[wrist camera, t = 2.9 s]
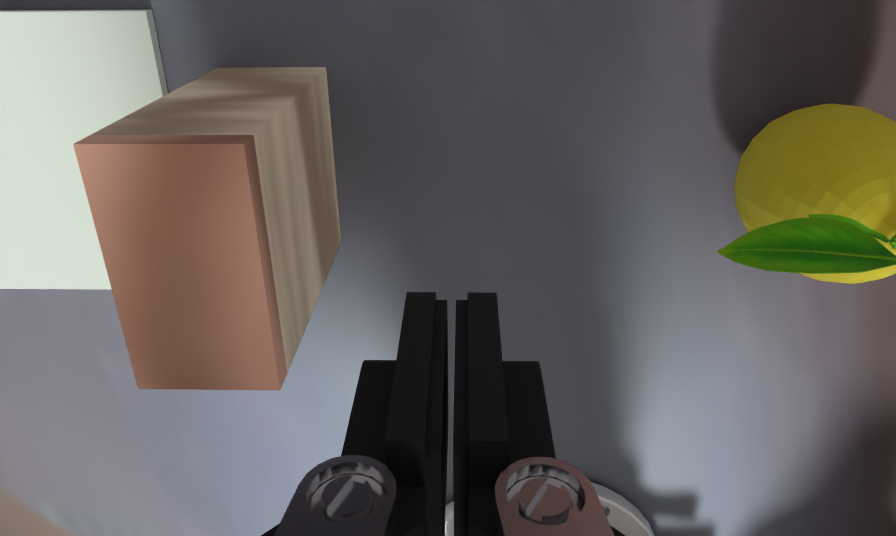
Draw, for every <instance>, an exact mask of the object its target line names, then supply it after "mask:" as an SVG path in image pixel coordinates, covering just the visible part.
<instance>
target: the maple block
mask: <svg viewBox="0 0 896 536" xmlns="http://www.w3.org/2000/svg"><path fill="white" fill-rule="evenodd" d="M73 146H74V150H75V154H76V157H77V161H78V165H79V169H80V172H81V176H82V180H83V184H84V187H85V191H86V195H87V199H88V202H89V206H90V210H91V214H92V217H93V221H94V225H95V229H96V232H97V236H98V240H99V244H100V247H101V251H102V255H103V259H104V262H105V266H106V270H107V274H108V277H109V281H110V285H111V289H112V292H113V296H114V300H115V304H116V307H117V311H118V315H119V319H120V322H121V326H122V330H123V334H124V337H125V341H126V345H127V349H128V352H129V356H130V360H131V364H132V367H133V371H134V375H135V379H136V382H137V386H138V389H203V390H281V387H282V385H283V382H284V380H285V378H286V375H287V373H288V370H289V368H290V365H291V363H292V360H293V358H294V356H295V353H296V351H297V348H298V346H299V343H300V341H301V339H302V336H303V334H304V331H305V329H306V326H307V324H308V322H309V319H310V317H311V314H312V312H313V309H314V307H315V305H316V302H317V300H318V297H319V295H320V292H321V290H322V287H323V285H324V283H325V280H326V278H327V275H328V273H329V270H330V268H331V266H332V263H333V261H334V258H335V256H336V253H337V251H338V249H339V246H340V244H341V233H340V221H339V210H338V198H337V187H336V175H335V164H334V152H333V141H332V129H331V118H330V106H329V95H328V83H327V72H326V67H218V68H216V69H214V70H212V71H210V72H208V73H206V74H204V75H202V76H201V77H199V78H197V79H195V80H193V81H191V82H189V83H187V84H185V85H184V86H182V87H180V88H178V89H176V90H174V91H172V92H170V93H168V94H167V95H165V96H163V97H161V98H159V99H157V100H155V101H153V102H151V103H150V104H148V105H146V106H144V107H142V108H140V109H138V110H136V111H134V112H133V113H131V114H129V115H127V116H125V117H123V118H121V119H119V120H117V121H116V122H114V123H112V124H110V125H108V126H106V127H104V128H102V129H100V130H99V131H97V132H95V133H93V134H91V135H89V136H87V137H85V138H83V139H82V140H80V141H78V142H76V143H74V144H73Z"/></svg>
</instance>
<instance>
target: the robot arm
mask: <svg viewBox="0 0 896 536" xmlns="http://www.w3.org/2000/svg"><path fill="white" fill-rule="evenodd" d="M447 451H448V329H447V300H436V292H407V295H406V301H405V308H404V314H403V321H402V327H401V334H400V340H399V347H398V353H397V360H364V362H363V364H362V367H361V371H360V376H359V380H358V384H357V389H356V393H355V398H354V402H353V406H352V411H351V415H350V420H349V424H348V428H347V433H346V437H345V441H344V446H343V450H342V455H341V456H340V457H335V458H331V459H329V460H327V461H325V462H323V463H320V464H318V465H317V466H316V467H314V468H313V469H312V470H311V471H309V472H308V473H307V474H306V475H305V477H304V478H303V479H302V481H301V482H300V484H299V485H298V487H297V489H296V491H295V493H294V495H293V497H292V500H291V502H290V504H289V506H288V508H287V510H286V512H285V514H284V516H283V518H282V520H281V522H280V524H278V525H277V526H275V527H274V528H272V529H271V530H269V531H267V532H266V533H264V534H263V535H261V536H654V533H653V531H652V529H651V527H650V525H649V522H648V521H647V520H646V519H645V517H644V516H643V515H642V514H641V512H640V511H639V510H638V509H637V508H636V507H635V506H634V505H632V504H631V503H630V502H629V501H627V500H626V499H625V498H624V497H622V496H621V495H619V494H617V493H615V492H614V491H612V490H610V489H608V488H606V487H604V486H602V485H599V484H596V483H593V482H590V481H589V479H588V477H587V476H586V475H585V474H583V473H582V472H581V471H580V470H579V469H577V468H576V467H574V466H572V465H570V464H568V463H566V462H564V461H562V460H558V459H556V457H555V452H554V446H553V440H552V434H551V428H550V422H549V416H548V410H547V404H546V398H545V392H544V386H543V380H542V374H541V368H540V364H539V362H538V361H502V352H501V340H500V329H499V317H498V305H497V294H496V293H468V300H456V336H455V384H454V434H453V481H454V500H453V501H452V502H451V503H449V504H448V505H446V482H447Z"/></svg>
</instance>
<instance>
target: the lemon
mask: <svg viewBox="0 0 896 536" xmlns="http://www.w3.org/2000/svg"><path fill="white" fill-rule="evenodd" d="M734 187H735V203H736V207H737V210H738V213H739V215H740V217H741V219H742V221H743V223H744V225H745V228H746V230H747V231H748V233H747V234H745V235H743V236H741V237H740V238H738V239H736V240H735V241H733V242H732V243H730V244H729V245H727V246H726V247H724V248H722V249H720V250H718V253H719V254H721V255H723V256H725V257H727V258H729V259H731V260H733V261H734V262H737V263H740V264H743V265H746V266H750V267H754V268H758V269H762V270H767V271H777V272H790V273H800V274H803V275H805V276H808V277H810V278H813V279H816V280H820V281H828V282H840V283H862V282H867V281H872V280H877V279H882V278H885V277H887V276H890V275H892V274H895V273H896V122H895V121H893V120H891V119H889V118H887V117H885V116H882V115H880V114H878V113H876V112H874V111H872V110H870V109H868V108H863V107H859V106H851V105H841V104H821V105H816V106H812V107H807V108H802V109H797V110H795V111H792V112H790V113H788V114H786V115H784V116H782V117H779V118H777V119H775V120H773V121H771V122H770V123H769V124H768V125H767V126H765V127H764V128H763V129H762V130H761V131H760V132H759V133H758V134H757V135H756V136H755V137H754V138H753V139H752V141H751V142H750V144H749V146H748V147H747V149H746V150H745V152H744V153H743V155H742V157H741V159H740V163H739V167H738V170H737V174H736V178H735V182H734Z"/></svg>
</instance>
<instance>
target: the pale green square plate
mask: <svg viewBox="0 0 896 536" xmlns="http://www.w3.org/2000/svg"><path fill="white" fill-rule="evenodd" d="M167 94H168V90H167V84H166V79H165V74H164V69H163V64H162V59H161V54H160V48H159V43H158V38H157V33H156V28H155V23H154V17H153V12H152V10H0V289H111V285H110V281H109V277H108V274H107V270H106V266H105V262H104V259H103V255H102V251H101V247H100V244H99V240H98V236H97V232H96V229H95V225H94V221H93V217H92V214H91V210H90V206H89V202H88V199H87V195H86V191H85V187H84V184H83V180H82V176H81V172H80V169H79V165H78V161H77V157H76V154H75V150H74V146H73V144H74V143H76V142H78V141H80V140H82V139H83V138H85V137H87V136H89V135H91V134H93V133H95V132H97V131H99V130H100V129H102V128H104V127H106V126H108V125H110V124H112V123H114V122H116V121H117V120H119V119H121V118H123V117H125V116H127V115H129V114H131V113H133V112H134V111H136V110H138V109H140V108H142V107H144V106H146V105H148V104H150V103H151V102H153V101H155V100H157V99H159V98H161V97H163V96H165V95H167Z"/></svg>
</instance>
